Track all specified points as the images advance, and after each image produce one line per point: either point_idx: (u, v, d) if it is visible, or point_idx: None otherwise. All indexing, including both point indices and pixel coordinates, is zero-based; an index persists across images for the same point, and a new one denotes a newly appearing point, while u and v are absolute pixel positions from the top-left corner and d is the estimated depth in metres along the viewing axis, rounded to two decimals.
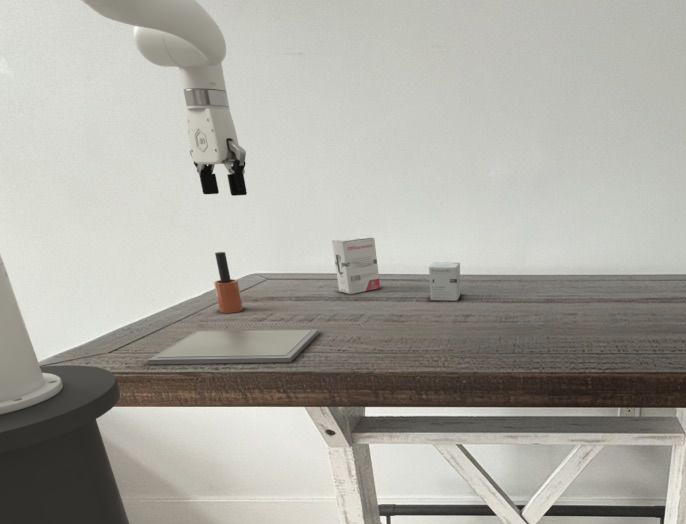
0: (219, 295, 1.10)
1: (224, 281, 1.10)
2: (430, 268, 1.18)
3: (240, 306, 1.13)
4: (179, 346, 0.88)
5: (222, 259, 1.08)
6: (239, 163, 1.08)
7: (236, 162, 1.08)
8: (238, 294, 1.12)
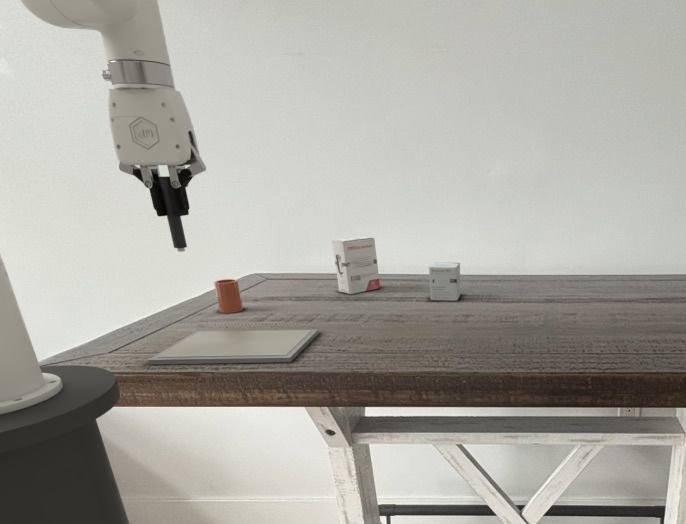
0: (219, 295, 1.10)
1: (171, 215, 0.84)
2: (430, 268, 1.17)
3: (240, 306, 1.13)
4: (179, 346, 0.88)
5: (167, 185, 0.83)
6: (189, 176, 0.83)
7: (186, 172, 0.82)
8: (238, 294, 1.12)
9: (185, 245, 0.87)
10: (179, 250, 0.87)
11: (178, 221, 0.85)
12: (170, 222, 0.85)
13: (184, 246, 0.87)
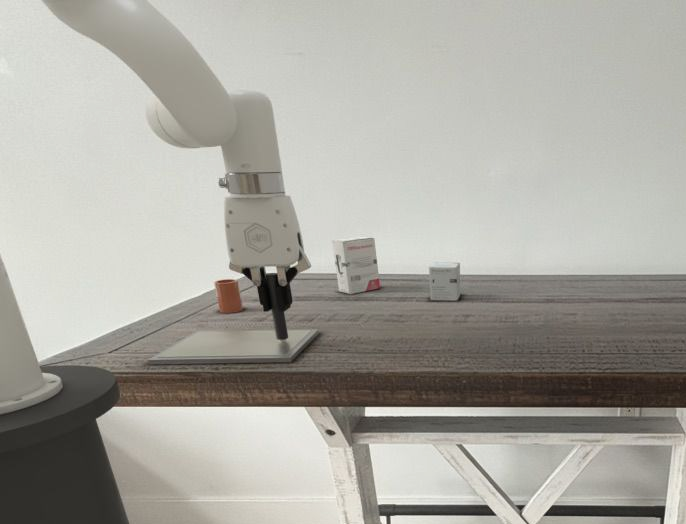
0: (219, 295, 1.10)
1: (276, 309, 0.87)
2: (430, 268, 1.18)
3: (240, 306, 1.13)
4: (179, 346, 0.88)
5: (274, 283, 0.86)
6: (295, 274, 0.86)
7: (293, 271, 0.85)
8: (238, 294, 1.12)
9: (287, 336, 0.90)
10: (281, 341, 0.90)
11: (282, 315, 0.88)
12: (275, 316, 0.88)
13: (287, 337, 0.90)
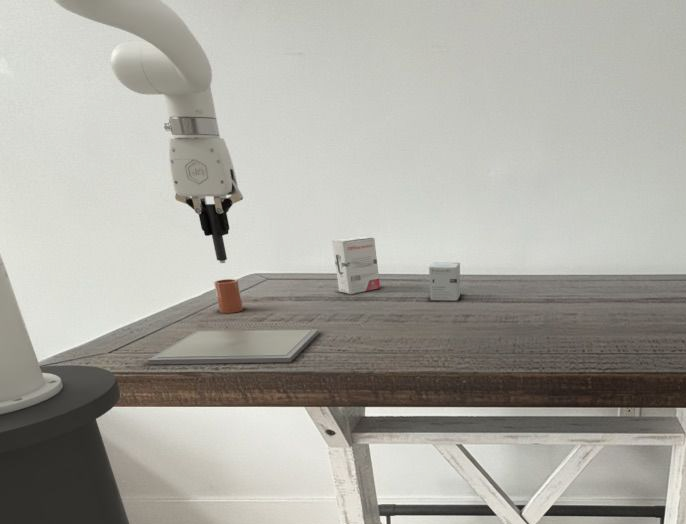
0: (219, 295, 1.10)
1: (215, 234, 1.07)
2: (430, 268, 1.18)
3: (240, 306, 1.13)
4: (179, 346, 0.88)
5: (213, 211, 1.05)
6: (230, 204, 1.05)
7: (228, 201, 1.04)
8: (238, 294, 1.12)
9: (225, 258, 1.09)
10: (221, 262, 1.09)
11: (220, 239, 1.07)
12: (214, 240, 1.07)
13: (225, 258, 1.09)
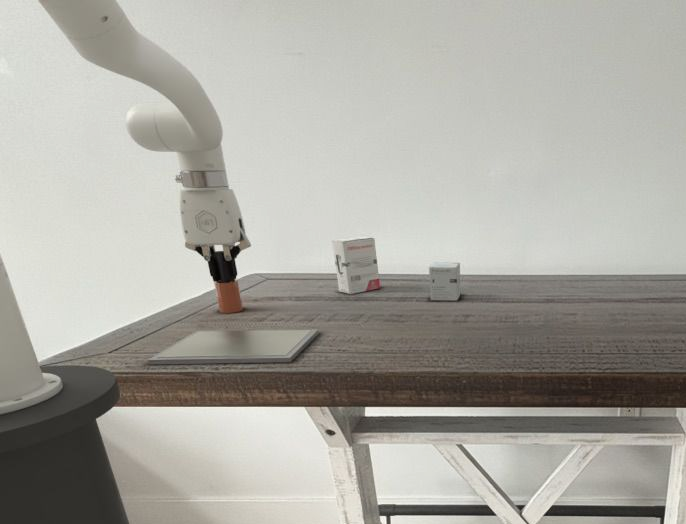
0: (219, 295, 1.10)
1: (223, 280, 1.10)
2: (430, 268, 1.18)
3: (240, 306, 1.13)
4: (179, 346, 0.88)
5: (221, 258, 1.08)
6: (238, 251, 1.08)
7: (236, 249, 1.08)
8: (238, 294, 1.12)
9: None
10: None
11: None
12: None
13: None
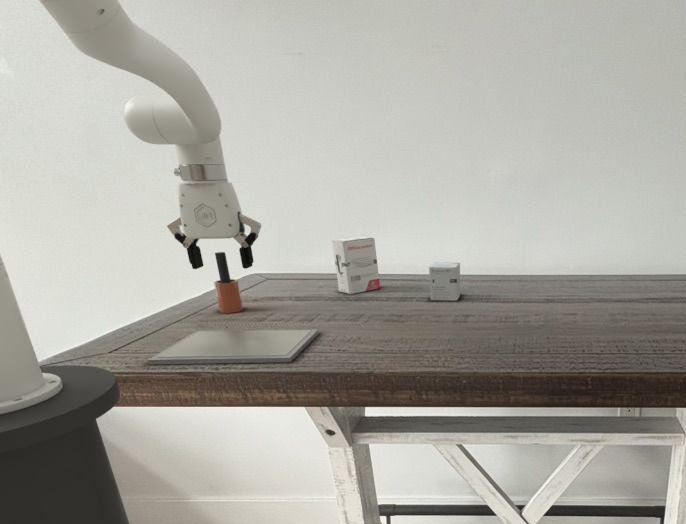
0: (219, 295, 1.10)
1: (224, 281, 1.10)
2: (430, 268, 1.18)
3: (240, 306, 1.13)
4: (179, 346, 0.88)
5: (222, 259, 1.08)
6: (255, 236, 1.07)
7: (253, 235, 1.07)
8: (238, 294, 1.12)
9: None
10: None
11: None
12: None
13: None
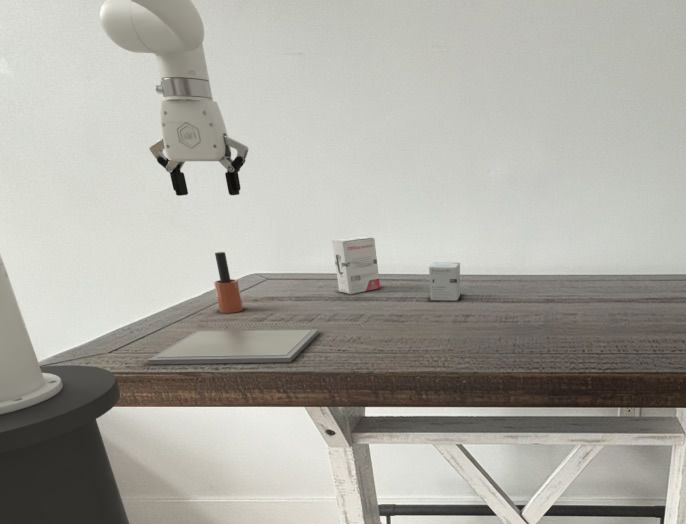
0: (219, 295, 1.10)
1: (224, 281, 1.10)
2: (430, 268, 1.17)
3: (240, 306, 1.13)
4: (179, 346, 0.88)
5: (222, 259, 1.08)
6: (242, 160, 1.02)
7: (239, 159, 1.02)
8: (238, 294, 1.12)
9: None
10: None
11: None
12: None
13: None
